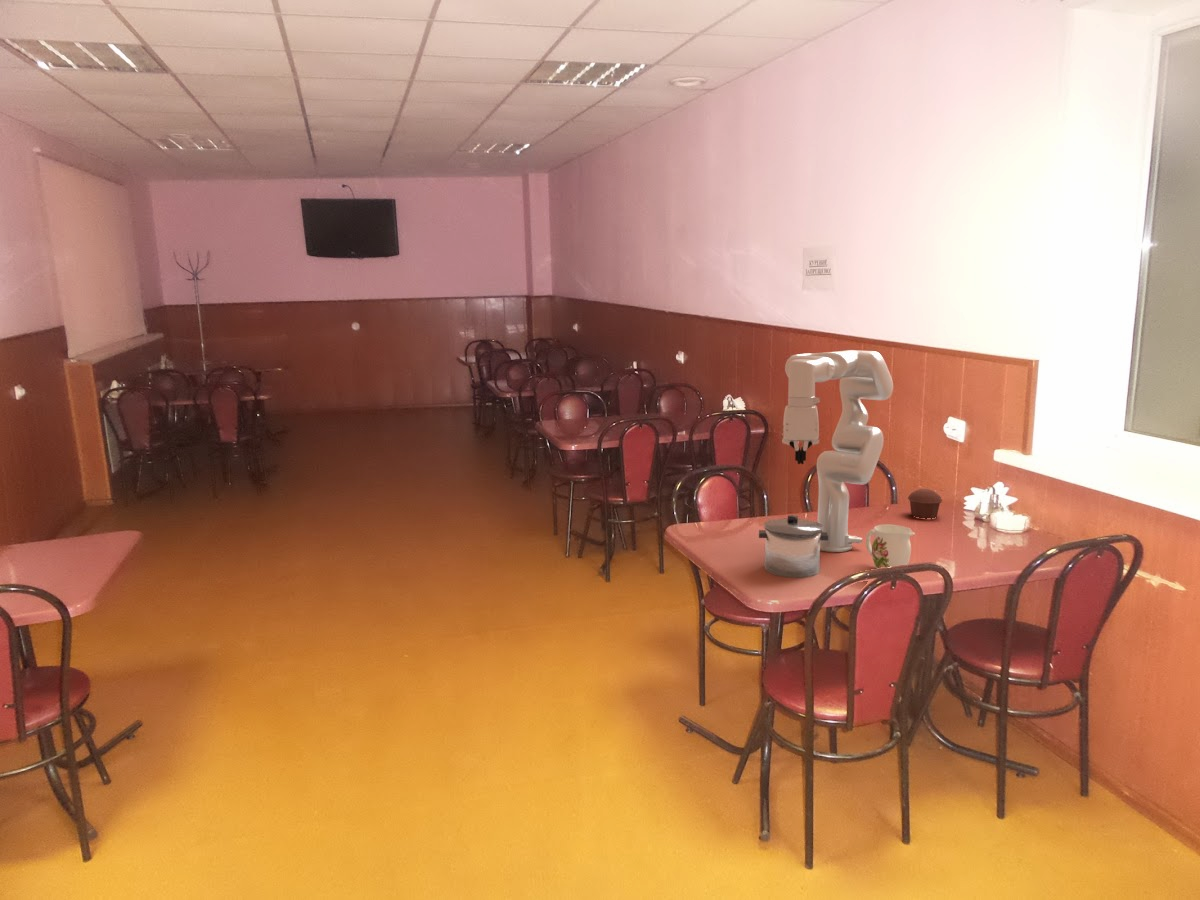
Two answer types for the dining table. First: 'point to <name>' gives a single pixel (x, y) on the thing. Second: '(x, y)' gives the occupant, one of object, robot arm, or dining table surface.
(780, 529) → the lid
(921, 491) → the muffin
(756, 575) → the dining table surface
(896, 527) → the pitcher
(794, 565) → the cooker pot
